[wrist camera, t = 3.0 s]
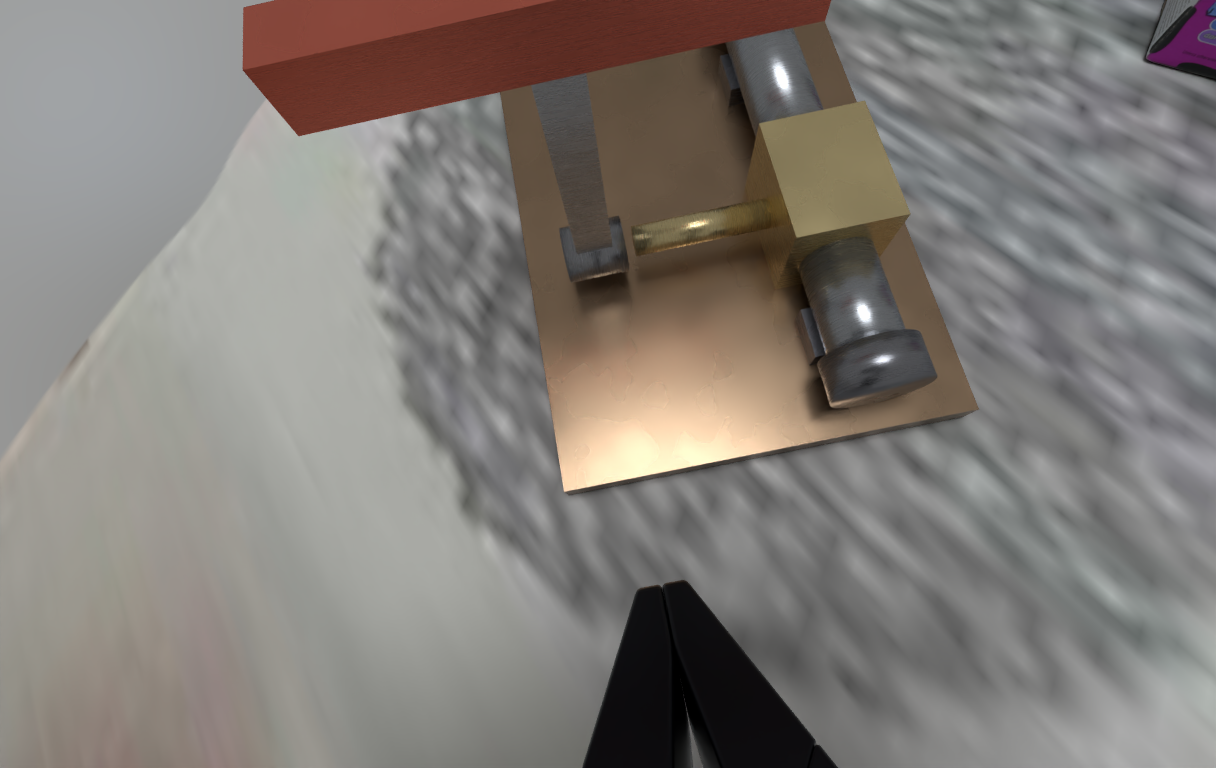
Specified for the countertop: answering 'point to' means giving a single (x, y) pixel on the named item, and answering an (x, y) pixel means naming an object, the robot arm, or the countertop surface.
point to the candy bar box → (1186, 37)
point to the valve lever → (491, 71)
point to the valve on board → (731, 268)
